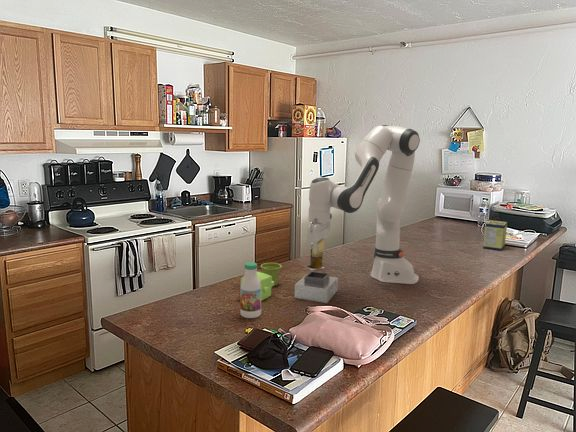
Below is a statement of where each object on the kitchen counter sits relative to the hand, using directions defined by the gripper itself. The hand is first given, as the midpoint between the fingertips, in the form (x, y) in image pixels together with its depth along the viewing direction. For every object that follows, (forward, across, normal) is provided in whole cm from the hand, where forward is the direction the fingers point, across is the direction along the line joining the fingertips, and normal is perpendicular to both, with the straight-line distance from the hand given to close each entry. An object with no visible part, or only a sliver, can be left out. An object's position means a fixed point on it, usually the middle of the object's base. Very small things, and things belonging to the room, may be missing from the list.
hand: (317, 249), depth 190 cm
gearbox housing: (+20, 0, 0) cm, 20 cm away
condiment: (+20, +37, +13) cm, 44 cm away
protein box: (+20, +124, -75) cm, 146 cm away
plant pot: (+20, +4, +23) cm, 31 cm away
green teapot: (+20, -15, +21) cm, 33 cm away
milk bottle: (+20, -31, +16) cm, 40 cm away
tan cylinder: (+3, 0, 0) cm, 3 cm away
